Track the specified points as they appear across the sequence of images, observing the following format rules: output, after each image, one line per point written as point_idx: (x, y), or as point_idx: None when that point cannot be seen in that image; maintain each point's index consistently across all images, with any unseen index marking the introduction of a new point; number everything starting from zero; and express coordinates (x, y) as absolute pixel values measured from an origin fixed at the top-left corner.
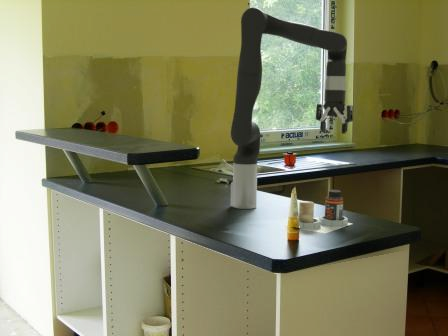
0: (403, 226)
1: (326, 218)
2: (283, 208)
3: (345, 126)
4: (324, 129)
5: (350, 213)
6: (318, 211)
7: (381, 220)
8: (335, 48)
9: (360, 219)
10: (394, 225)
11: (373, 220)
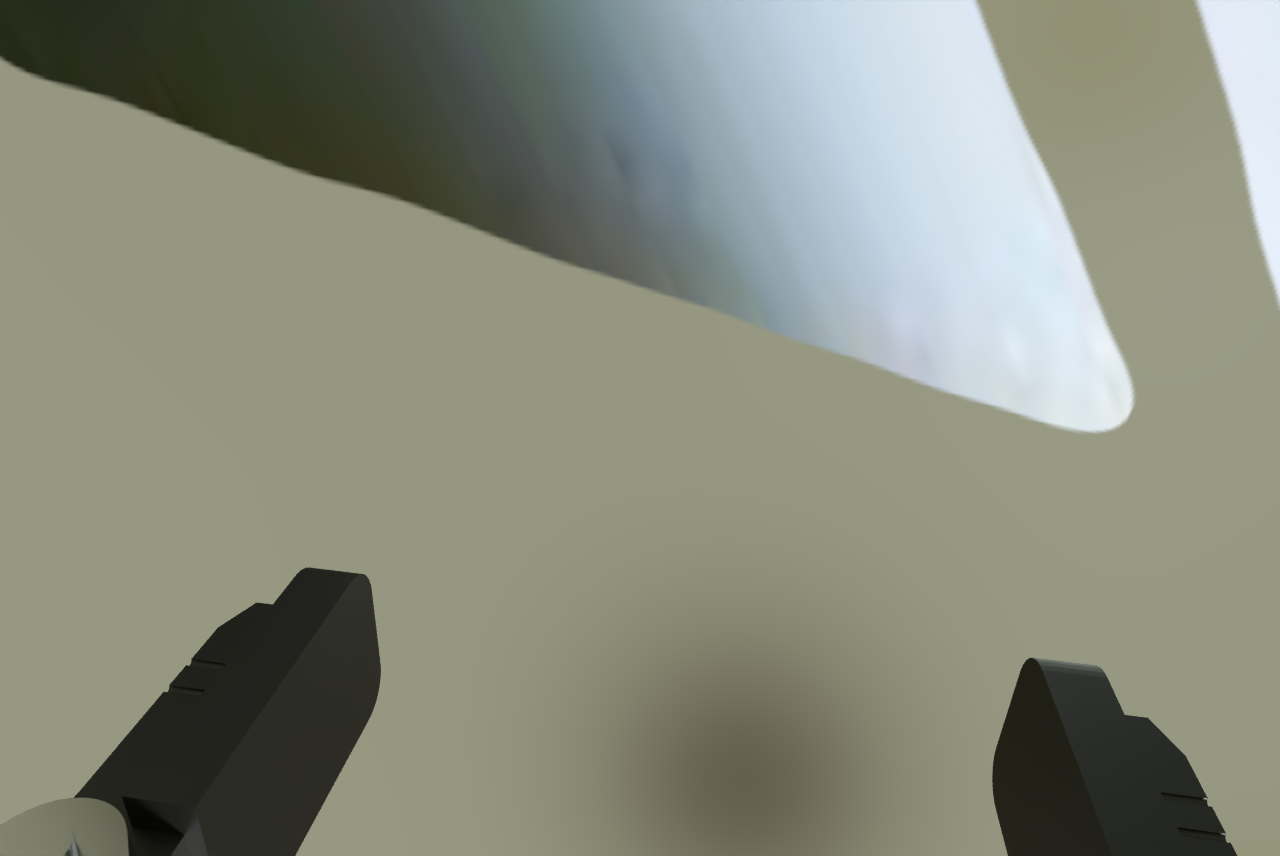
0: (45, 30)
1: None
2: (1228, 45)
3: (135, 732)
4: (1022, 780)
5: (589, 238)
6: (854, 139)
7: (275, 136)
8: None
9: (410, 57)
10: (106, 18)
11: (317, 92)
